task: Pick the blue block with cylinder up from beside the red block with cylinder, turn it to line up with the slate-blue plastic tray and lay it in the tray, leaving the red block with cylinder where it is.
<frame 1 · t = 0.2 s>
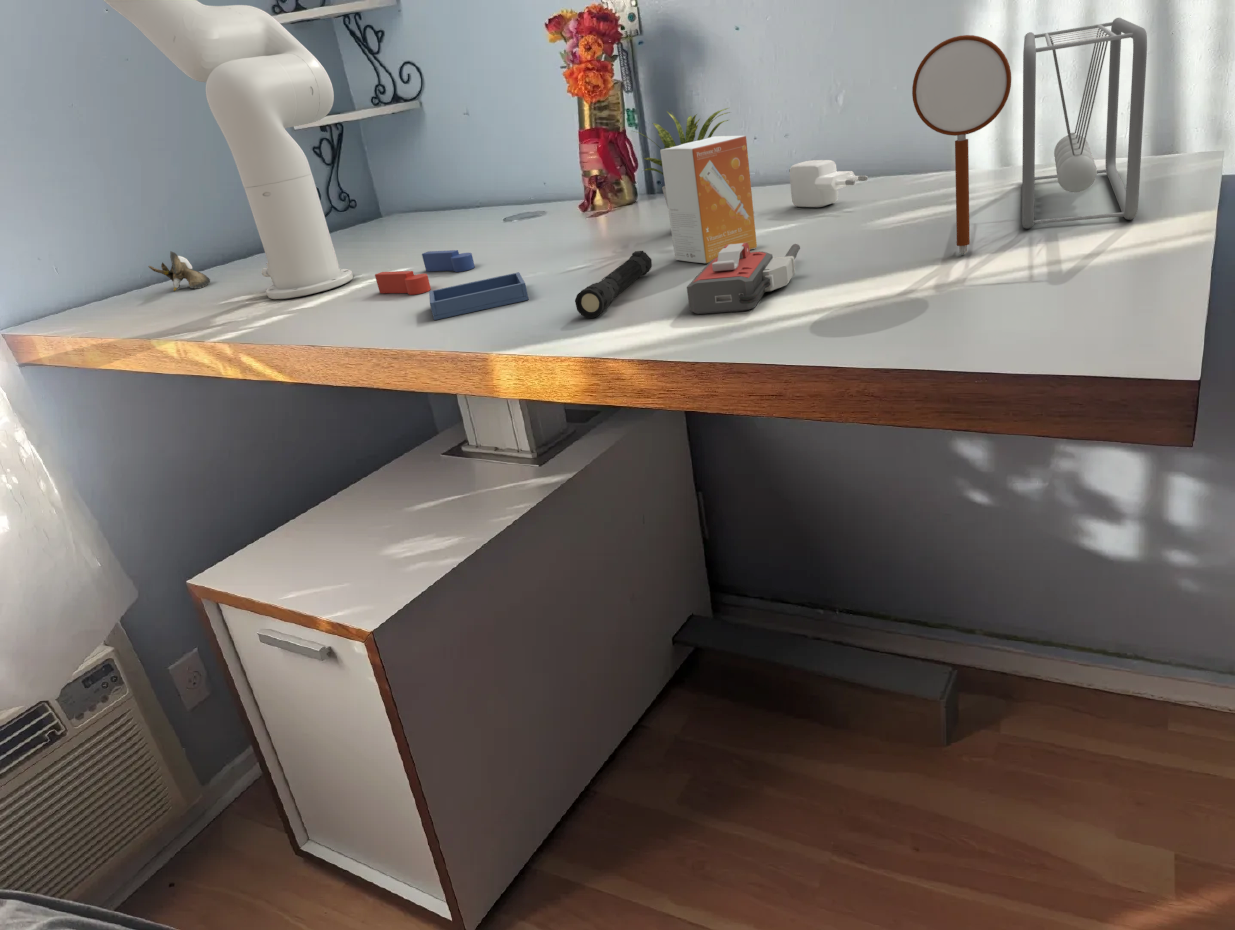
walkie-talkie: (750, 288, 94), on the table
newton's cradle: (1072, 201, 105), on the table
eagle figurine: (187, 288, 159), on the table
power adapter: (829, 206, 127), on the table
house plant: (703, 229, 128), on the table
red block with cylinder: (406, 291, 122), on the table
small box: (716, 255, 111), on the table
magnifying glass: (963, 256, 92), on the table
blue tray: (479, 303, 108), on the table
flashlight: (619, 297, 100), on the table
blue block with cylinder: (451, 269, 132), on the table
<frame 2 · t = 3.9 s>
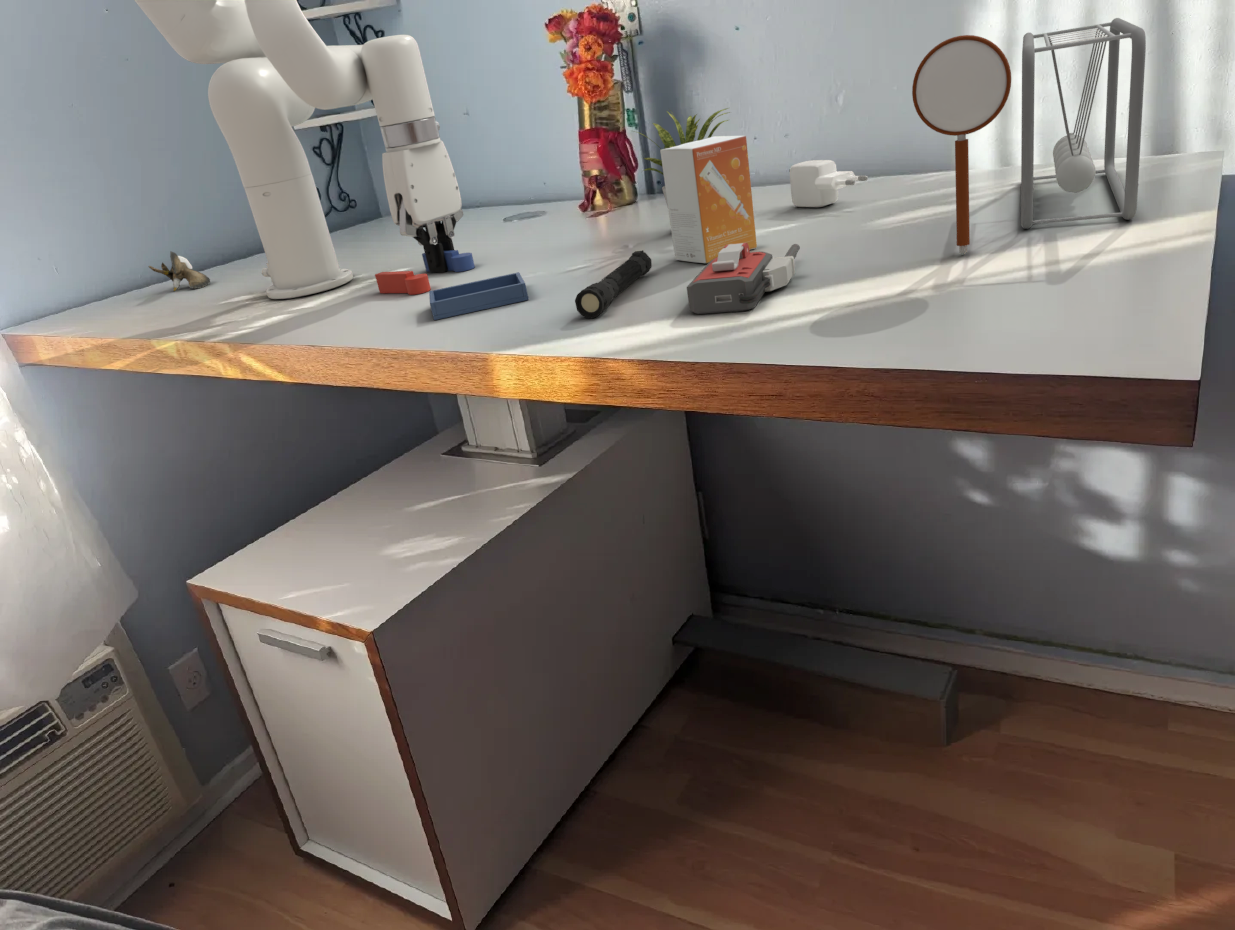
hand: (443, 268, 132), 0 cm above the table, tool pointing down, fingers closed on blue block with cylinder
blue block with cylinder: (451, 269, 132), on the table, touching gripper
everything else where it was.
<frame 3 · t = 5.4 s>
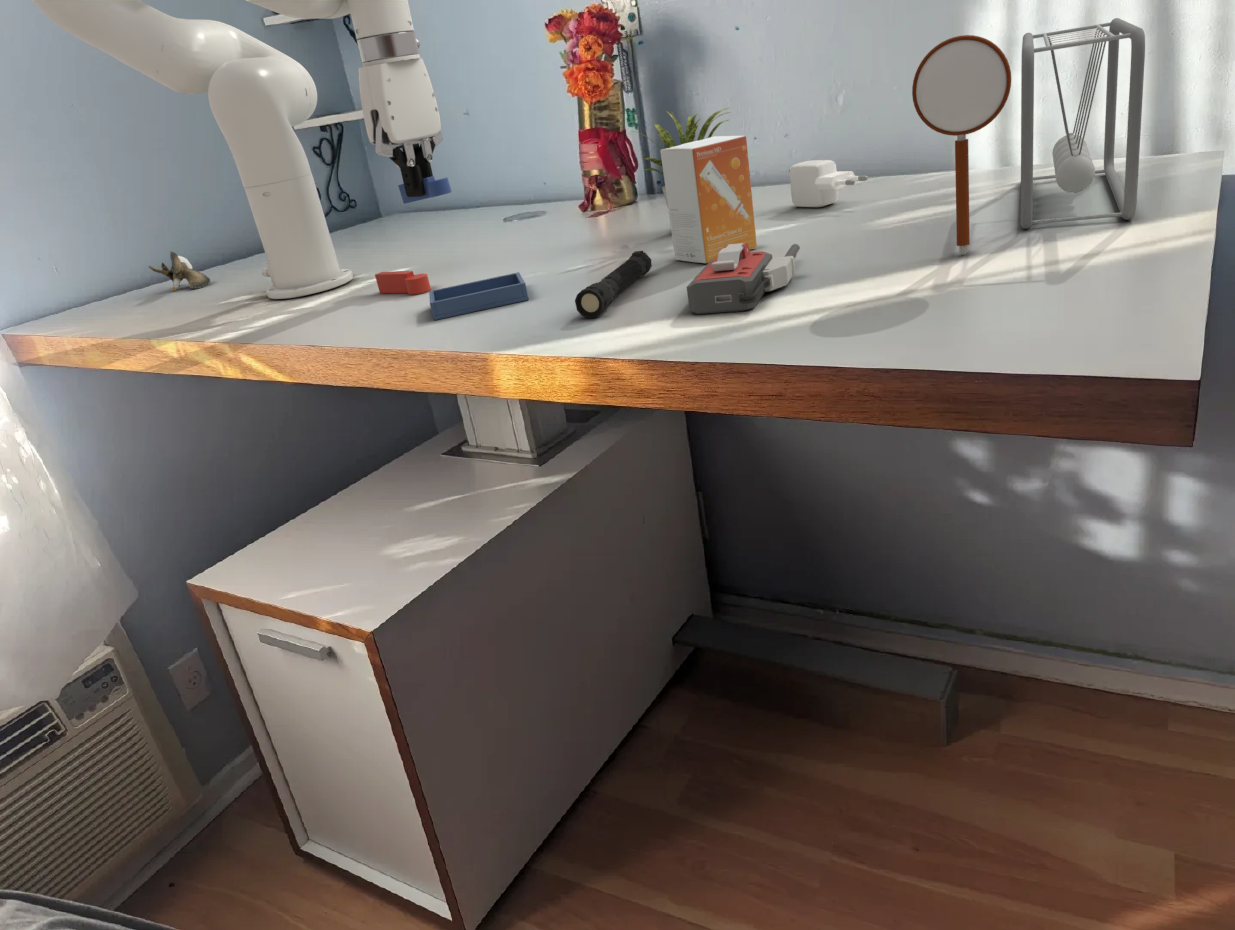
hand: (421, 193, 128), 11 cm above the table, tool pointing down, fingers closed on blue block with cylinder
blue block with cylinder: (428, 197, 128), point 10 cm above the table, tilted 5°, touching gripper
everything else where it was.
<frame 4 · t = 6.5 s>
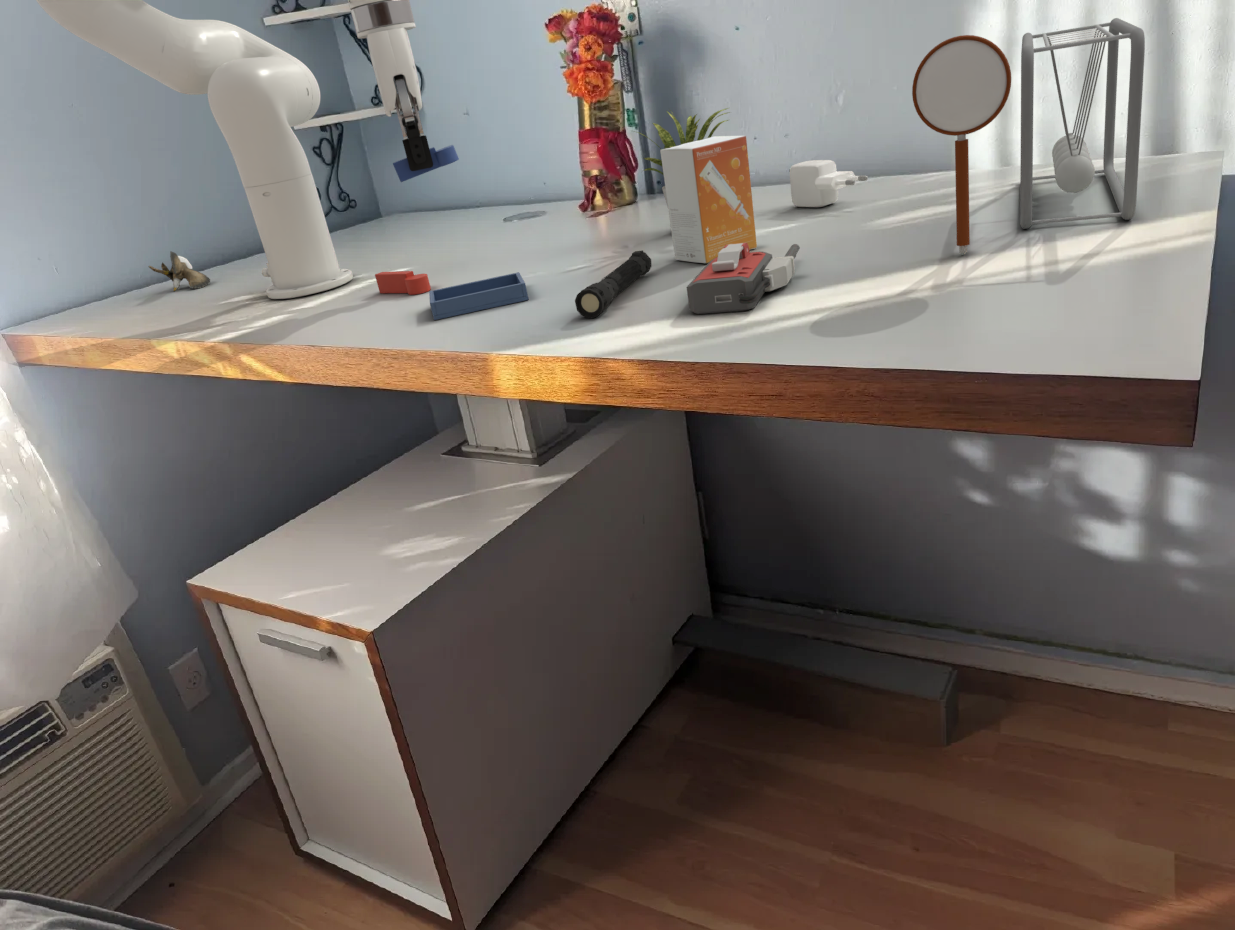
hand: (421, 167, 125), 14 cm above the table, tool pointing down, fingers closed on blue block with cylinder
blue block with cylinder: (431, 169, 126), point 14 cm above the table, tilted 10°, touching gripper
everything else where it was.
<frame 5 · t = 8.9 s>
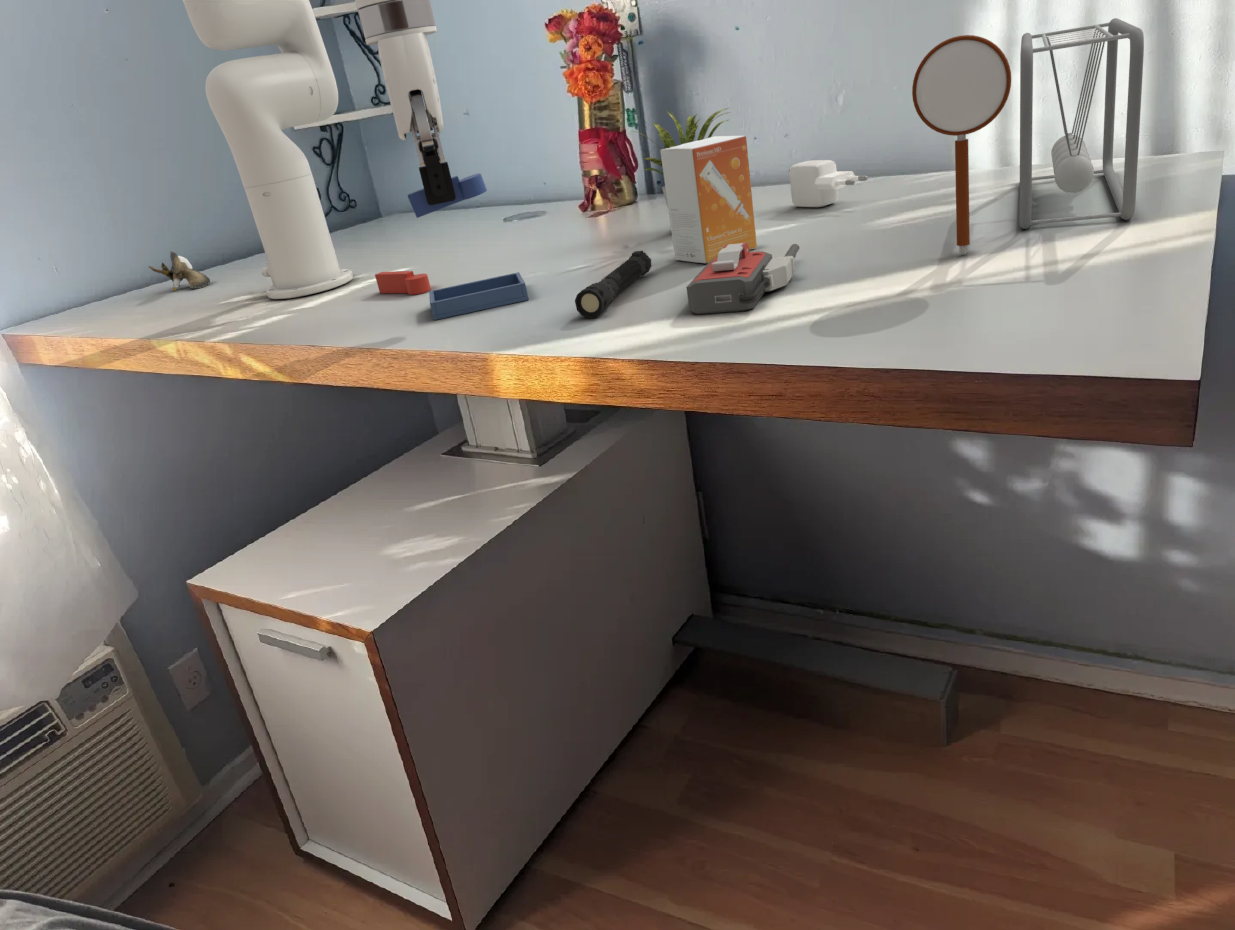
hand: (441, 200, 104), 12 cm above the table, tool pointing down, fingers closed on blue block with cylinder
blue block with cylinder: (454, 203, 104), point 12 cm above the table, tilted 9°, touching gripper
everything else where it was.
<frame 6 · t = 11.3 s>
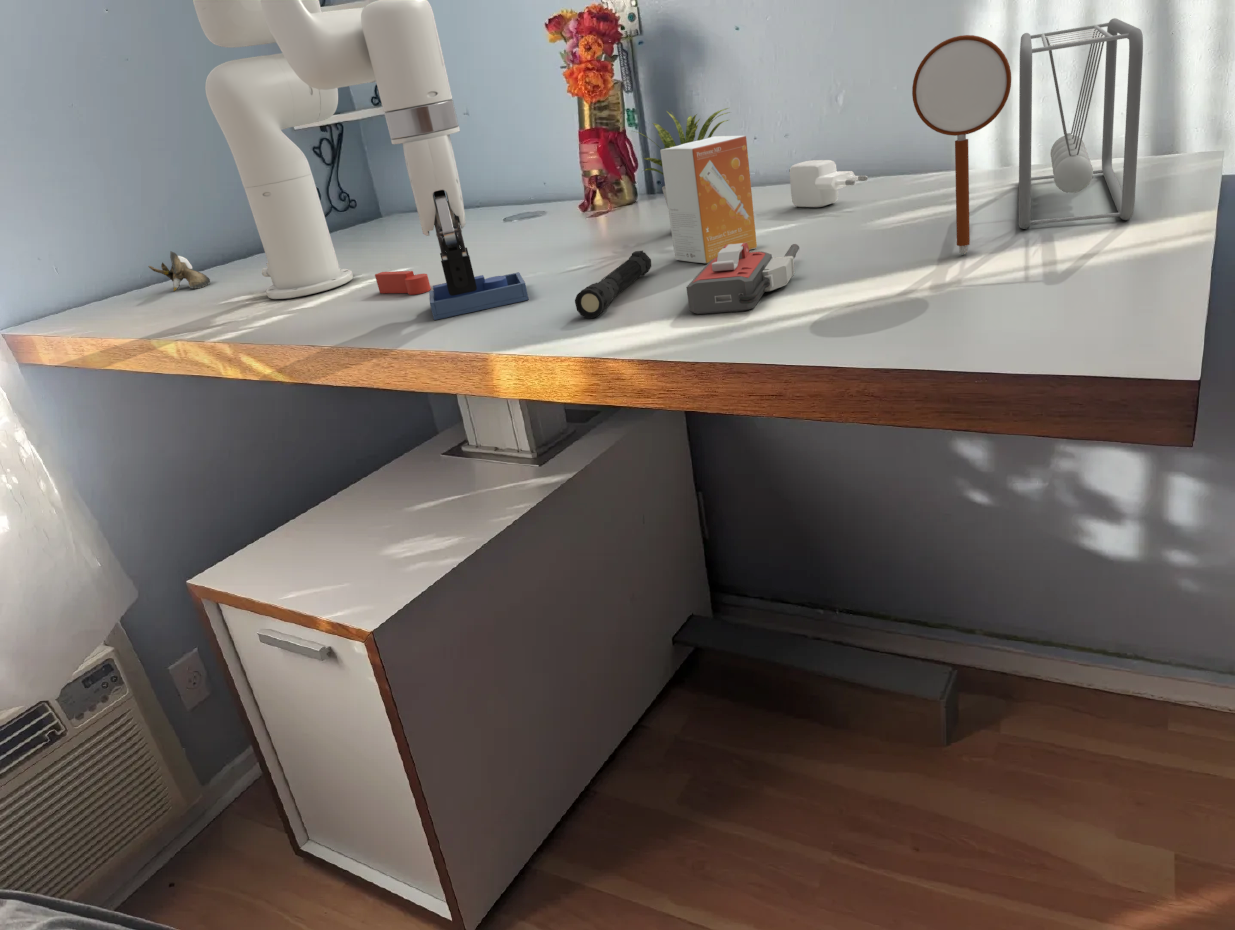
hand: (462, 286, 107), 2 cm above the table, tool pointing down, fingers open, 4 cm apart
blue block with cylinder: (476, 300, 108), resting on blue tray
everything else where it was.
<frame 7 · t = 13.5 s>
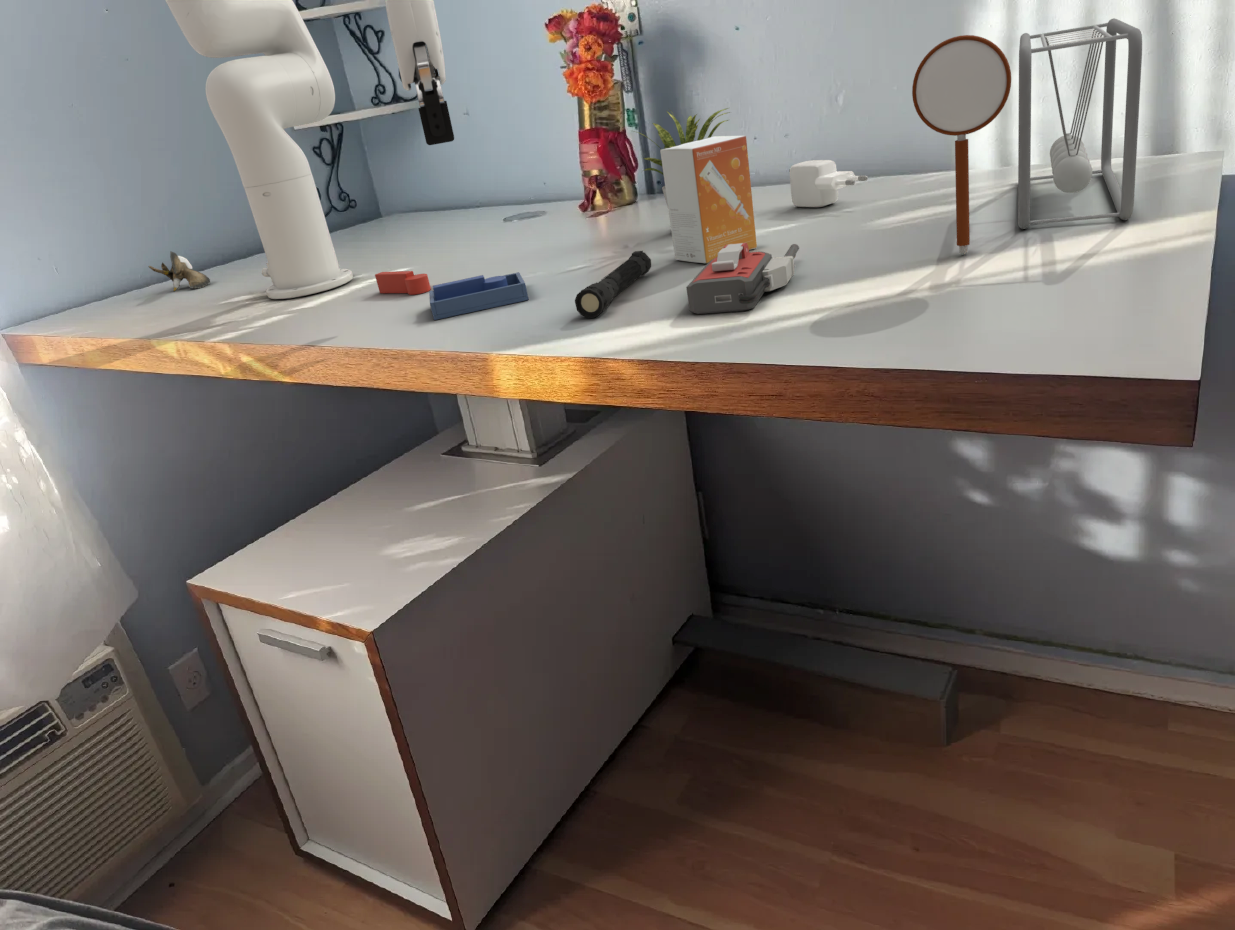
hand: (440, 139, 109), 18 cm above the table, tool pointing down, fingers open, 9 cm apart
nothing on the table moved.
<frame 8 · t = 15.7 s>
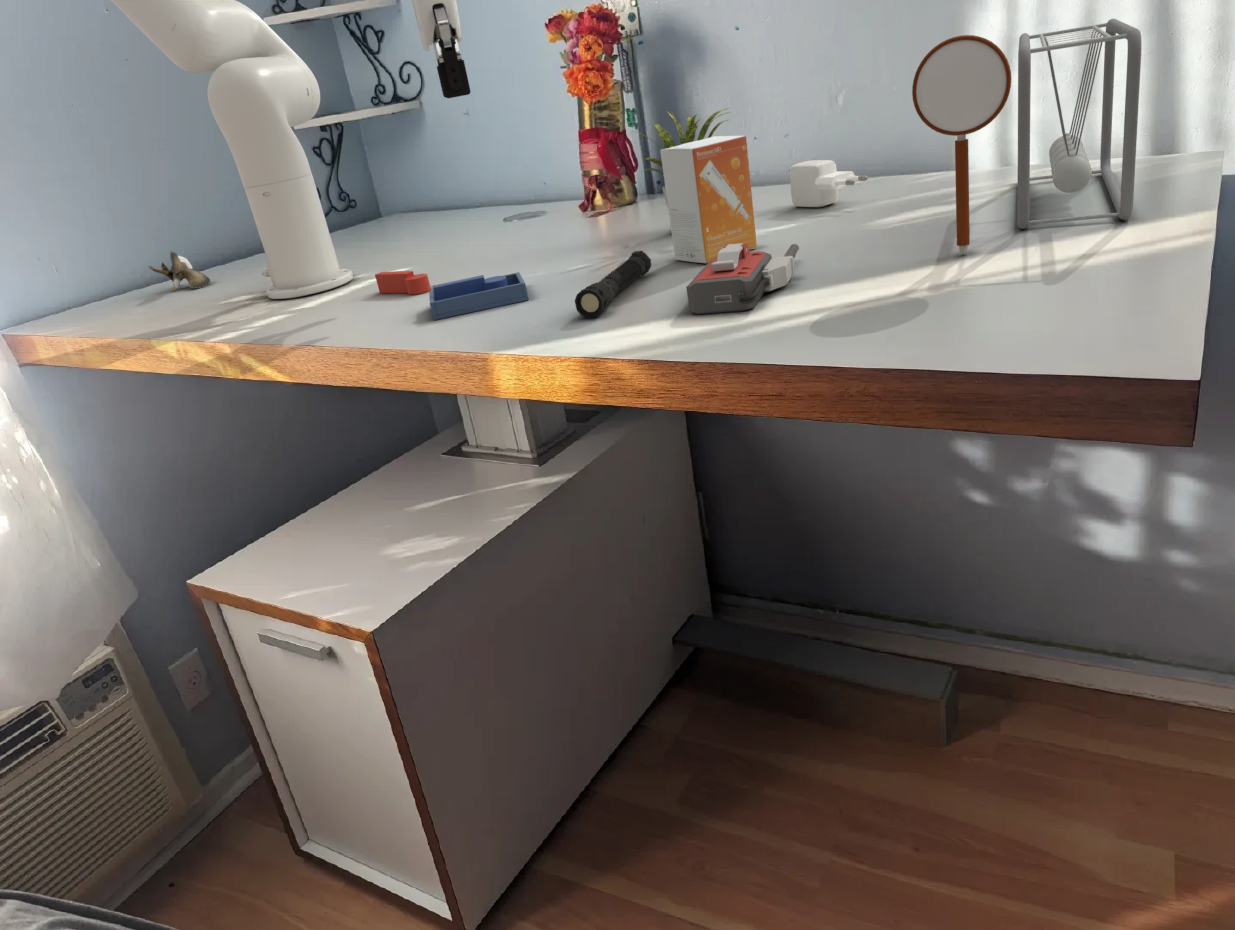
hand: (457, 96, 120), 22 cm above the table, tool pointing down, fingers open, 9 cm apart
nothing on the table moved.
at the end: blue block with cylinder inside the target area in the blue tray (0.4 cm from its centre), point 0.5 cm above the blue tray's base; red block with cylinder moved 0.0 cm from its start; the gripper is holding nothing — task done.
